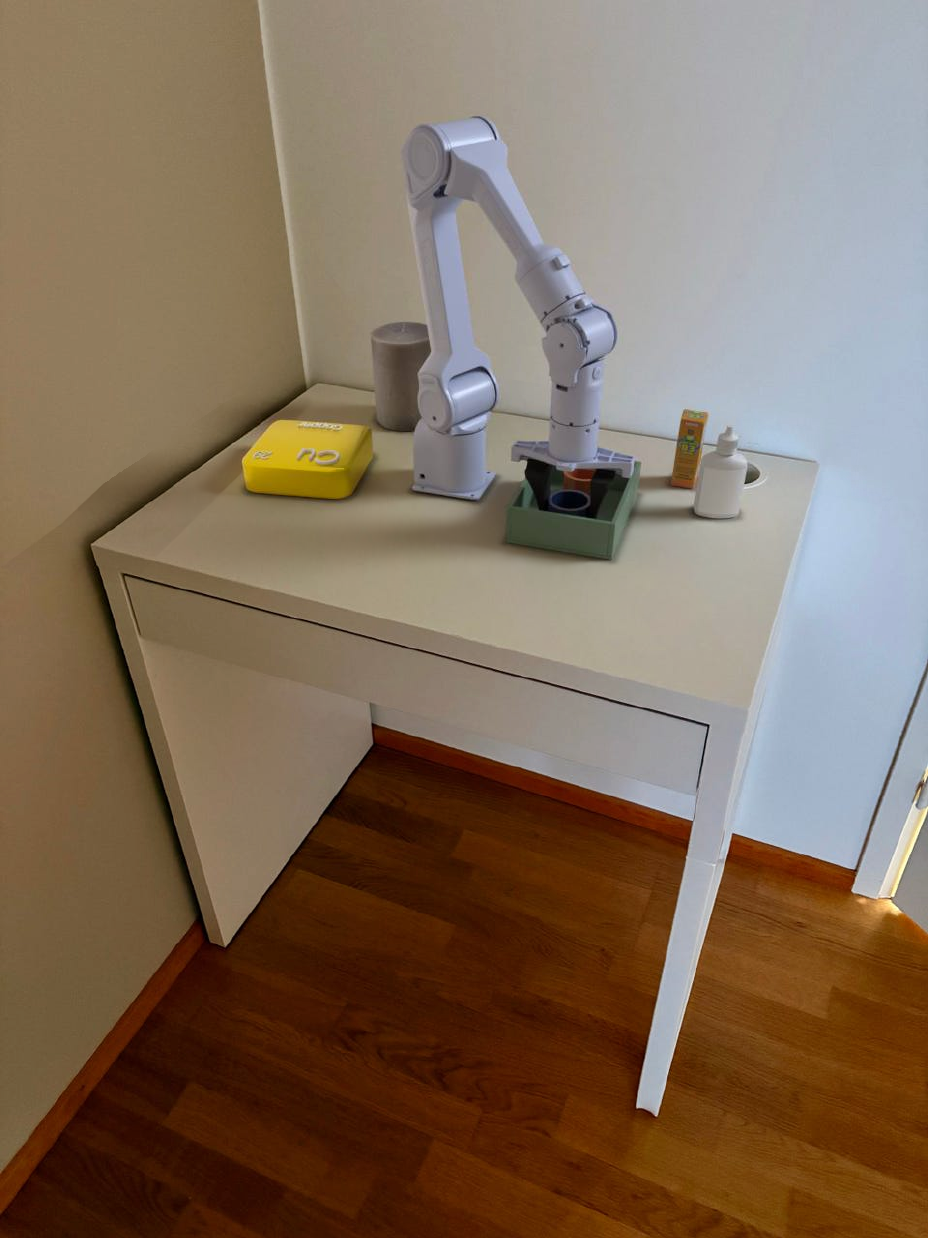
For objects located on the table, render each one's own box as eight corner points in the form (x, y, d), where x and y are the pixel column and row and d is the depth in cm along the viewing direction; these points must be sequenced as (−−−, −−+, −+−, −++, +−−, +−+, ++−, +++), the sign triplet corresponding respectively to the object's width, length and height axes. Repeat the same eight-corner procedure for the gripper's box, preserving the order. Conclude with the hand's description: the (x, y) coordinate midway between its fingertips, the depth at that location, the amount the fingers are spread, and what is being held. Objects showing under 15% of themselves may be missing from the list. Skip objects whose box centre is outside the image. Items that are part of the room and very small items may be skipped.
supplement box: (669, 486, 124) (678, 417, 118) (674, 475, 127) (684, 407, 121) (693, 490, 123) (704, 421, 117) (698, 479, 126) (709, 410, 120)
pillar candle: (448, 412, 145) (446, 317, 136) (420, 436, 138) (417, 337, 129) (393, 402, 148) (388, 309, 139) (364, 425, 141) (357, 328, 132)
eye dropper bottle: (729, 525, 116) (746, 437, 109) (688, 513, 118) (701, 426, 111) (742, 511, 119) (759, 425, 111) (701, 499, 121) (715, 414, 114)
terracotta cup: (557, 506, 119) (558, 477, 117) (567, 487, 123) (568, 459, 121) (597, 512, 118) (600, 483, 115) (606, 493, 122) (609, 465, 119)
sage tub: (505, 542, 113) (506, 507, 110) (542, 480, 126) (543, 447, 123) (611, 560, 109) (615, 524, 106) (637, 494, 122) (641, 461, 120)
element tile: (376, 452, 133) (374, 421, 131) (348, 501, 121) (345, 468, 119) (278, 445, 136) (274, 414, 133) (241, 492, 124) (235, 460, 121)
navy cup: (540, 536, 113) (542, 506, 110) (551, 515, 117) (553, 486, 114) (583, 543, 111) (586, 513, 109) (593, 522, 116) (596, 492, 113)
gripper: (504, 422, 104) (502, 525, 112) (631, 438, 100) (619, 544, 108) (521, 398, 110) (518, 499, 118) (642, 413, 106) (630, 516, 114)
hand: (568, 519), depth 113 cm, fingers closed on navy cup, 5 cm apart
